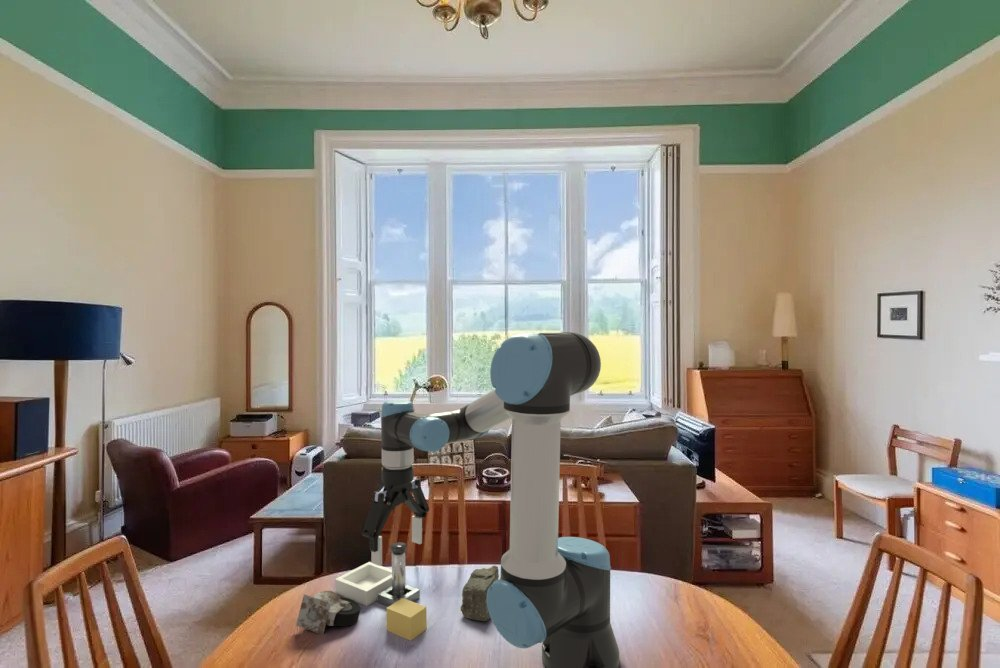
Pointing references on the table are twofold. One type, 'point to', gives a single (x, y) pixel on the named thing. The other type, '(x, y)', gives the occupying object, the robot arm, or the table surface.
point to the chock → (406, 618)
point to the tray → (364, 583)
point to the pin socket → (388, 599)
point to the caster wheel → (327, 611)
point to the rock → (478, 593)
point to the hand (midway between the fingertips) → (397, 552)
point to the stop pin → (398, 569)
